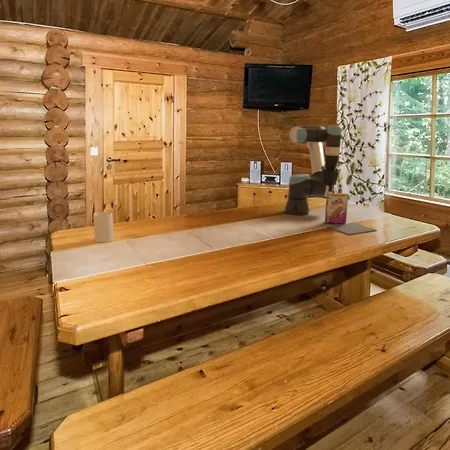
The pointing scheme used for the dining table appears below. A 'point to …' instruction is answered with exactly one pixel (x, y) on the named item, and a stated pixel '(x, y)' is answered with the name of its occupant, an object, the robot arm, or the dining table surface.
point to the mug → (103, 227)
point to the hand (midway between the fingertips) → (327, 197)
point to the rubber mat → (351, 228)
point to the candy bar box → (336, 208)
